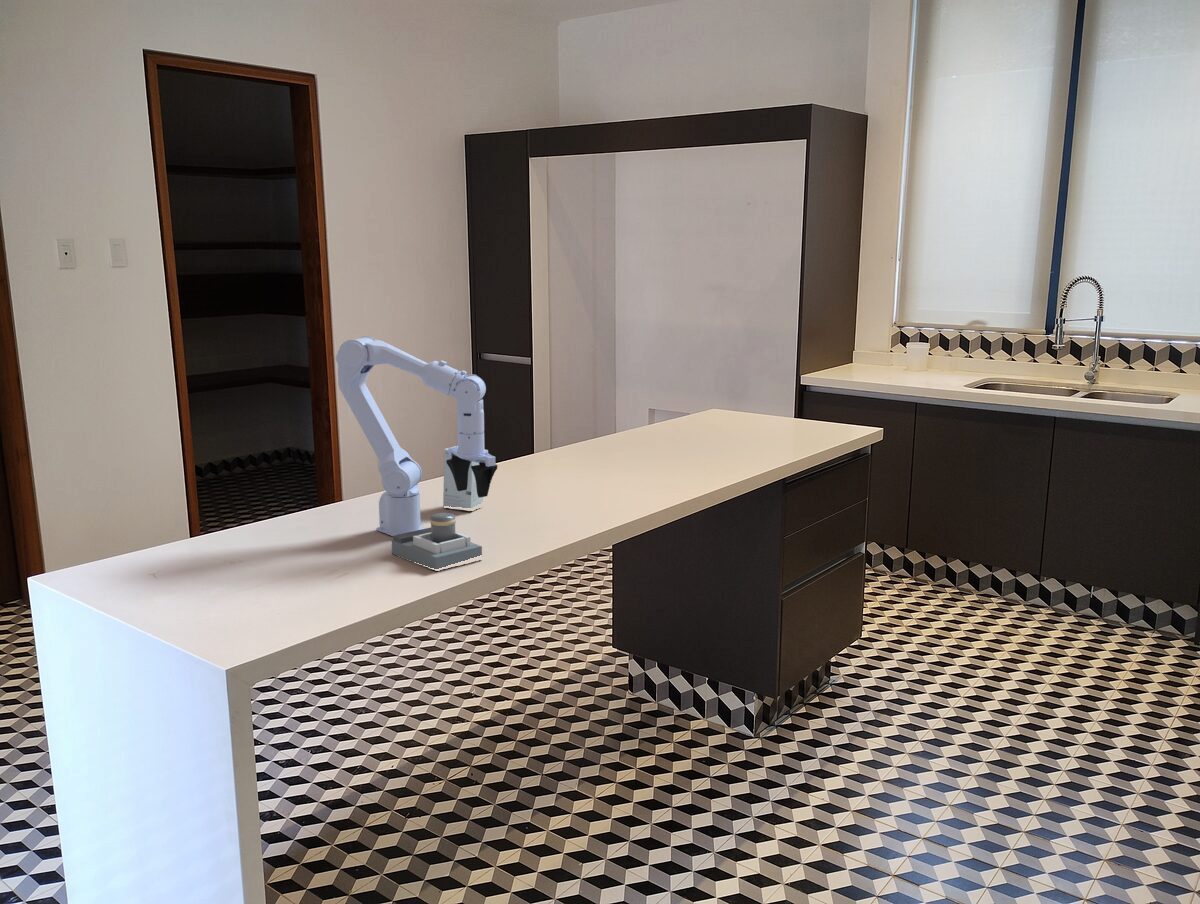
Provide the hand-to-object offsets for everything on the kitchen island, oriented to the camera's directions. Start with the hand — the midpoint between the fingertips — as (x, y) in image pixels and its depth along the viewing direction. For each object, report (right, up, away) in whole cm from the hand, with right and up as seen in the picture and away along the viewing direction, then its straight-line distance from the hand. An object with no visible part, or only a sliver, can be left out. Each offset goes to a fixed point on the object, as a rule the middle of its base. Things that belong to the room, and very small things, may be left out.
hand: (472, 493), depth 211 cm
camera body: (-5, -12, -14) cm, 19 cm away
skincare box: (-5, -5, +24) cm, 25 cm away
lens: (-4, -10, -16) cm, 19 cm away
